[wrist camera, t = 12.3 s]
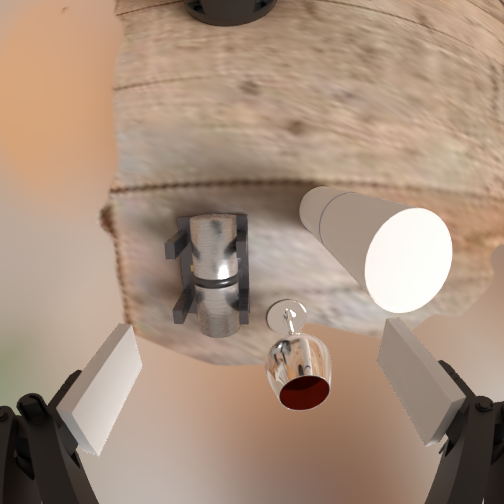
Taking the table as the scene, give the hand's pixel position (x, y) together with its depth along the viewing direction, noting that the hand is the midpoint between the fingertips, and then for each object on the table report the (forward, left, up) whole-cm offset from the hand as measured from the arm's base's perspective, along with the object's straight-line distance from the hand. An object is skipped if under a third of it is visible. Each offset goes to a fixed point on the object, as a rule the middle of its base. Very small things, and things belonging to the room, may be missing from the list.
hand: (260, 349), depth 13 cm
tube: (+5, -6, -27) cm, 29 cm away
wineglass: (+14, +5, -29) cm, 32 cm away
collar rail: (+5, -6, -29) cm, 30 cm away
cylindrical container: (-3, +10, -29) cm, 31 cm away
